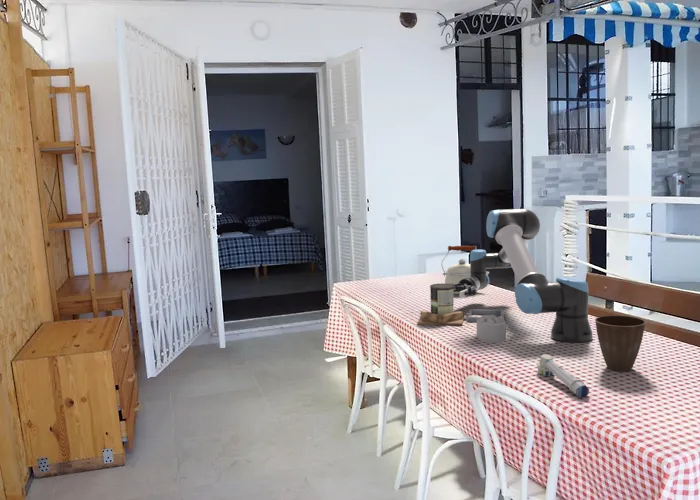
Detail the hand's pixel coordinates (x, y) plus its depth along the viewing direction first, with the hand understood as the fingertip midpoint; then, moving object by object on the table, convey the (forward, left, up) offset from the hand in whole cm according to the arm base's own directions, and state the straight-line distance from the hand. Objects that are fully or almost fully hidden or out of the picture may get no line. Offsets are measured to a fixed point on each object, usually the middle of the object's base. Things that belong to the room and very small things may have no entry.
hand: (446, 293), depth 281 cm
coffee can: (-5, +2, -10) cm, 11 cm away
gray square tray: (-1, -17, -11) cm, 20 cm away
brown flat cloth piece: (-7, +2, -11) cm, 13 cm away
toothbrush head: (-82, -42, -11) cm, 93 cm away
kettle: (+56, -5, -11) cm, 58 cm away
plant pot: (-65, -61, -11) cm, 90 cm away
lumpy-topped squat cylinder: (-34, -20, -11) cm, 41 cm away
